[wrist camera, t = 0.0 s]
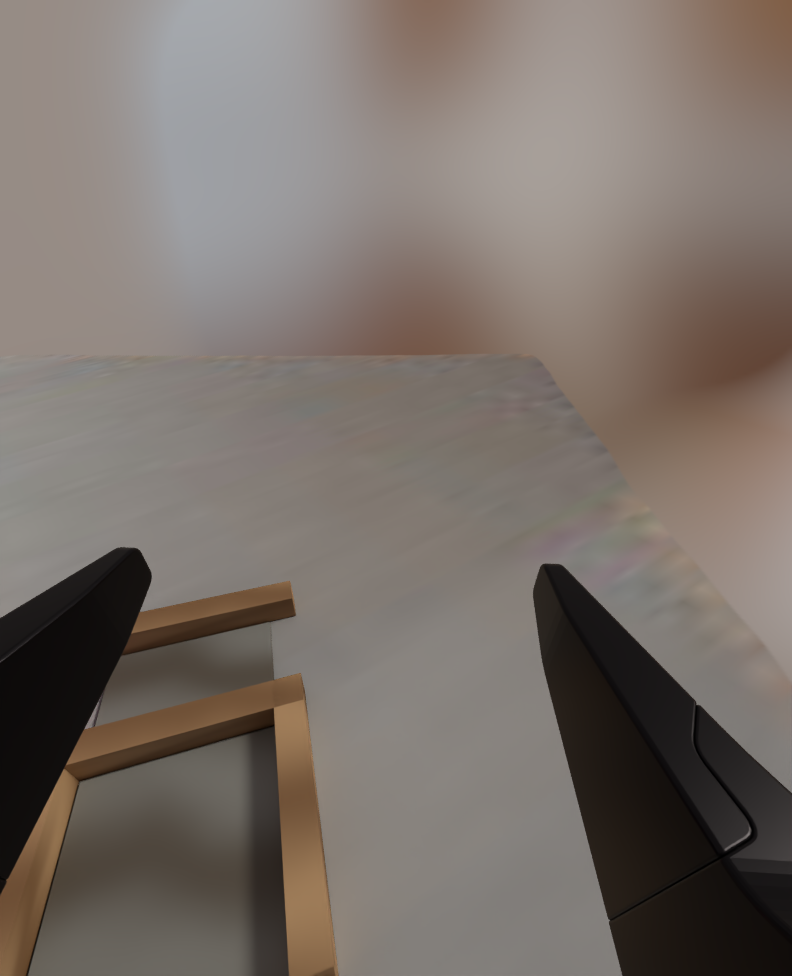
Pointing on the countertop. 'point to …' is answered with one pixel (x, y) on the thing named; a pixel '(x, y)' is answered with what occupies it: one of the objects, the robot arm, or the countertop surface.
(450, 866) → the countertop surface
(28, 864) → the cradle
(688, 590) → the countertop surface
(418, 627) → the countertop surface
